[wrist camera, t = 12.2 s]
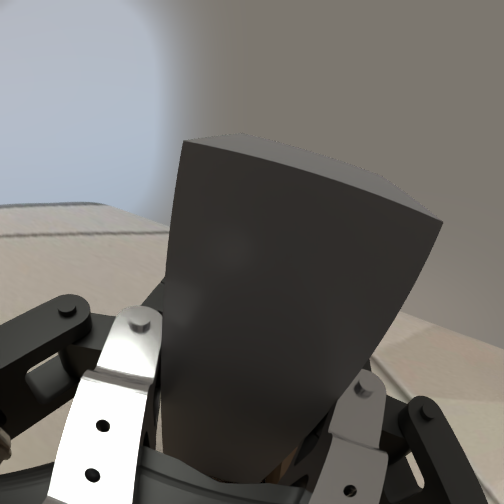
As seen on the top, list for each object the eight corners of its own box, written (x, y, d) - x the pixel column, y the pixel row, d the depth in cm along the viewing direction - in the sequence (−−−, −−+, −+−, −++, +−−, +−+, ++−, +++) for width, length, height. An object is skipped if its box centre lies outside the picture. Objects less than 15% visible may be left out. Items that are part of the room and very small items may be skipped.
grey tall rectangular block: (163, 460, 9) (183, 140, 4) (191, 395, 13) (242, 133, 7) (254, 487, 9) (443, 222, 4) (268, 418, 12) (381, 175, 7)
